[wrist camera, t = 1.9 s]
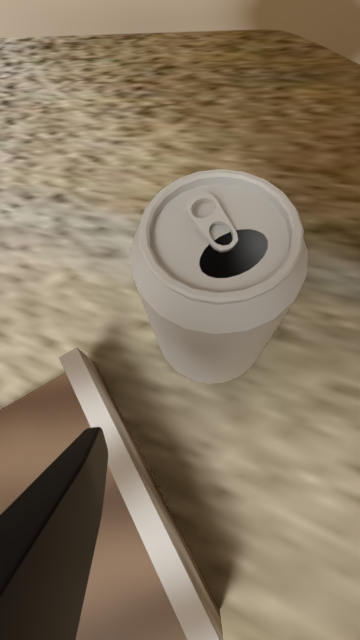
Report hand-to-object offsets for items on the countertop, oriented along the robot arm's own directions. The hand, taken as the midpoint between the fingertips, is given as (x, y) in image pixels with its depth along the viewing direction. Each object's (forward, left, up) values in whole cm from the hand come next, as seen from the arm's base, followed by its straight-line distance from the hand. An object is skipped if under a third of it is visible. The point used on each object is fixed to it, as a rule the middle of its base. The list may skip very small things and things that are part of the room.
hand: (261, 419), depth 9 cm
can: (+6, -4, -12) cm, 14 cm away
